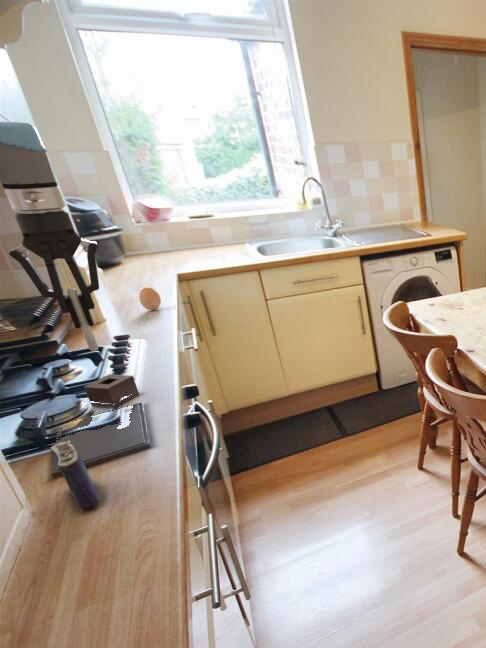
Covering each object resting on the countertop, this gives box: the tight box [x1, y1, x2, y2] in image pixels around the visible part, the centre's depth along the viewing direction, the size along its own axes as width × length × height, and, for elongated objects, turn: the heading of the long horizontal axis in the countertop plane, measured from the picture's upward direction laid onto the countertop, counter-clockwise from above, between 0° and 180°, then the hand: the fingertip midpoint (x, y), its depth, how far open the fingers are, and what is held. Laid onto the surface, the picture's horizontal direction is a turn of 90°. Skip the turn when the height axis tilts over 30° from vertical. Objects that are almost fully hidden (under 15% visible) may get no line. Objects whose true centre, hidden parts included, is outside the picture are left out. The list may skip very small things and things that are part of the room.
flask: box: [50, 440, 101, 512], centre depth 75 cm, size 9×3×11 cm, turn 50°
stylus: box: [66, 287, 99, 352], centre depth 98 cm, size 2×2×14 cm
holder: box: [83, 373, 140, 409], centre depth 105 cm, size 6×6×5 cm
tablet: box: [50, 401, 152, 479], centre depth 92 cm, size 20×14×1 cm
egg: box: [138, 286, 162, 311], centre depth 161 cm, size 6×6×8 cm
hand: (85, 324), depth 98 cm, fingers closed on stylus, 1 cm apart
